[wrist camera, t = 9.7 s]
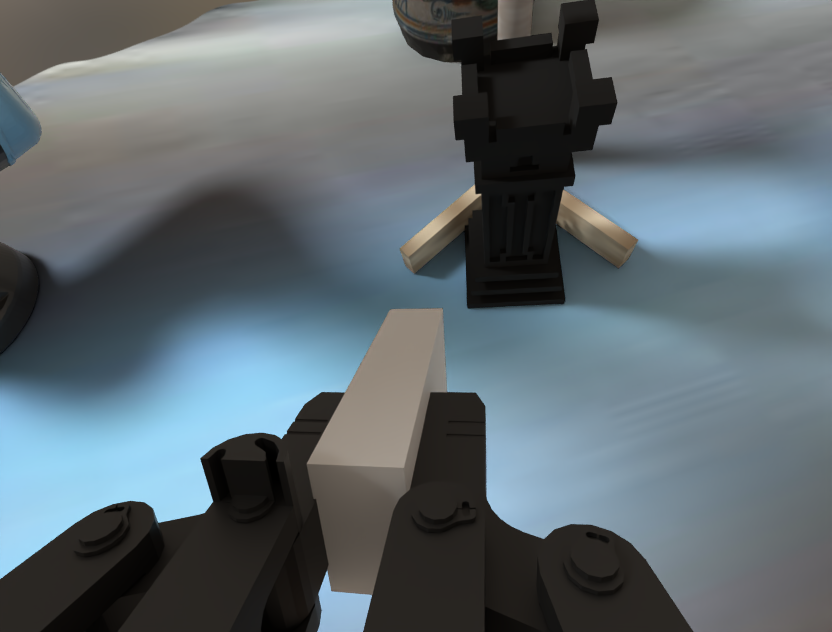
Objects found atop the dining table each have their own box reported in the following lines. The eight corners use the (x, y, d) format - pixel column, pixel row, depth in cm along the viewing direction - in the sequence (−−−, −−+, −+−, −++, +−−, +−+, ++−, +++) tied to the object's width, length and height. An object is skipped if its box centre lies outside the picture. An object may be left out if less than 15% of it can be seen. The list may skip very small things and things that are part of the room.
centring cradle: (367, 209, 45) (234, -115, 22) (512, 127, 46) (532, -260, 23) (468, 359, 37) (428, 102, 14) (639, 255, 38) (860, -136, 15)
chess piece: (465, 230, 42) (443, 16, 24) (553, 223, 41) (601, -8, 23) (467, 308, 39) (445, 128, 21) (563, 303, 38) (628, 108, 20)
